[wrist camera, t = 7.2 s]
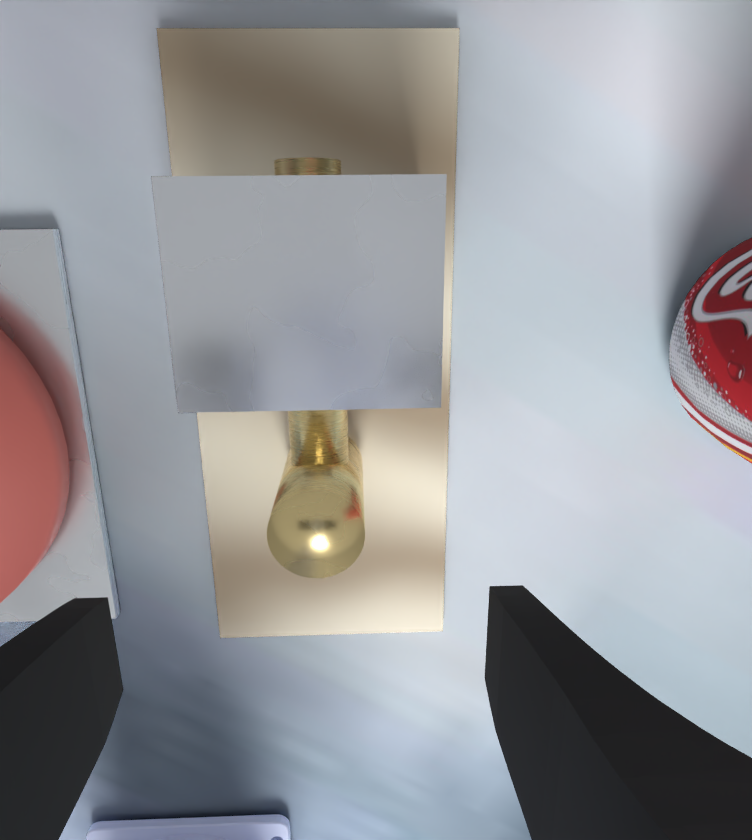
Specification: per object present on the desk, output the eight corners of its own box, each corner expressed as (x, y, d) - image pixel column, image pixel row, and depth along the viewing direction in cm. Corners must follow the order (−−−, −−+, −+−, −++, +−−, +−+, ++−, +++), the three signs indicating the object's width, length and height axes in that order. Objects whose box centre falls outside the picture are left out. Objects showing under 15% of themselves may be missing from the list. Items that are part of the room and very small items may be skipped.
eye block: (418, 359, 19) (440, 407, 14) (224, 363, 19) (177, 412, 14) (420, 188, 17) (446, 174, 13) (209, 190, 17) (150, 176, 12)
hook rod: (363, 497, 20) (365, 576, 15) (288, 499, 20) (269, 579, 15) (357, 168, 17) (358, 147, 12) (269, 169, 17) (238, 149, 12)
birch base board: (441, 625, 22) (442, 631, 22) (221, 632, 22) (220, 637, 22) (457, 31, 17) (459, 27, 16) (160, 32, 16) (156, 28, 16)
